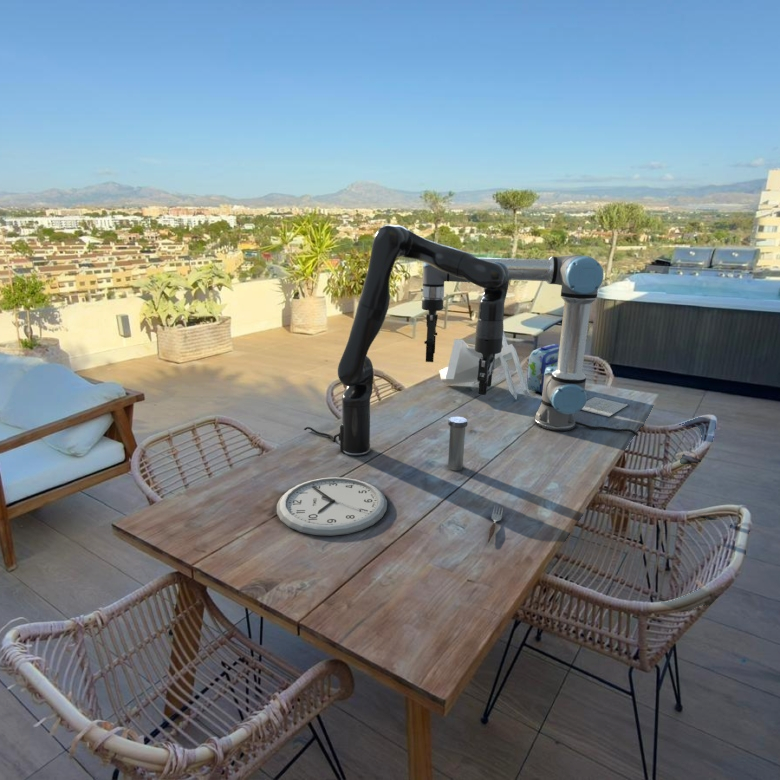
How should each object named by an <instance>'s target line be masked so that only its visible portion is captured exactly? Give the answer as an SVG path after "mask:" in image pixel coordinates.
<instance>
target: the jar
mask: <svg viewBox="0 0 780 780" xmlns="http://www.w3.org/2000/svg"><path fill="white" fill-rule="evenodd" d="M465 436H466V427H464V428H454V427H451V426H449V440H448V441H449V442H448V458H447V459H448V460H447V468H448V469H449V470H450V471H454V472H459V471H462V470H463V468H464V467H463V466H464V455H465V454H464V453H465Z"/></svg>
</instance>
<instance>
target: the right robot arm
mask: <svg viewBox="0 0 780 780" xmlns="http://www.w3.org/2000/svg"><path fill="white" fill-rule="evenodd" d="M477 258H478V259H481V260H484V261H488V262H502V263H504V264H505V265H506V266H507V267H508V270H509V281H526V282H527V281H531V282H546V283H547V284H548V285H557V286H561V289H560V298H561V299H562V300H563V303H564V305H563V313H562V322H561V330H560V339H559V345H560V346H559V355H558V364H557V366H553V367H547V368H546V369H545V373H544V382H543V392H542V393H541V402H540V405H539V407H538V410H537V411H536V413H535V416H534V424H535V425H536V426H537V427H539V428H542V429H544V430H549V431H556V432H567V431H572V430H574V429H575V428H576V425H577V426H581V427H584V428H586V429H591V430H606V431H612V432H619V433H620V432H625V433H631V434H633V435H634V436H637V437H639V433H638V432H637V431H635V430H633V429H630V428H614V427H609V426H592V425H589V424H586V423H583V422H579V421H576V418H575V417H576V416H575V414H576V413H579V412H580V411H582V410H581V409H582V408H583V407H584V406H585V404H586V401H588V397H587V392H586V389H585V388H586V383H587V382H586V381H587V375H586V374H585V373H584V371H583V369H584V361H585V355H586V347H587V339H588V338H587V337H588V330H589V324H590V318H591V317H590V316H591V308H592V303H593V302H594V301H596V300H597V298H598V294H599V293H598V291H599V288H601V285H602V284H603V281H604V269H603V267H602V265H601V264H600V262H599V261H597V260H596V259H595V258H594V257H592V256H587V255H581V254H574V255H573V254H572V255H565V256H551V257H549V258H548V259H545V258H544V259H543V258H542V259H541V258H540V259H539V258H501V257H500V258H497V257H496V258H495V257H494V258H492V257H477ZM422 262H423V261H422ZM422 264H423V265H422V288H420V292H421V293H422V294H421V296H422V299H421V309H422V310H423V311H428V313H426V316H425V320H426V340H424V342H423V343H424V344H425V362H426V363H434V359H435V357H434V356H435V353H436V338H437V337H436V336H438V332H437V329H436V328H437V324H438V318H439V315H438V314H437V311H438V312H439V311H442V310H444V299H443V298H444V297H445V282H447V283H449V282H452V283H453V282H457V283H468V284H470V283H471V282H469V281H468V280H466V279H463V278H459V277H456V276H453V275H450V274H448V273H445V272H443V271H440V270H438V269H436V268H435V267H433V266H431V265H429V264H427V263H425V262H423V263H422Z"/></svg>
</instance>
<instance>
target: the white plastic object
mask: <svg viewBox="0 0 780 780" xmlns="http://www.w3.org/2000/svg"><path fill="white" fill-rule="evenodd" d="M481 356H482V353H478V352H476V351H475V345H473V346H469V345H468V343H466V342H465V340H464V339H463V338H460V339H458V338H454V340H453V344H452V349H451V353H450V357H449V362H448V366H446V367H444V368H442V369H440V370H439V371H438V372H439V376H440V381H442V383H443V384H444V385H445V386H449V385H458V384H467V383H468V384H469V383H473V384H477V383H479V381H478V380H477V378H478V368H479V359H480V358H481ZM510 360H513V363H514V366H515V369H516V372H517V376H518V380H519V382H520V385H521V389H522V391H523V393H524V395H525V396H526V397H528V396H531V395H530V390H529V389H528V387H527V380H526V378H525V375H524V371H523V369H522V368H523V367H522V366H521V362H520V359H519V355H518V352H517V349H516V347H515V346H514V345H513V343H511V344H508V341H507V337H506V334H505V331H504V330H503V340H502V351H501V352H500V353H498V354H495V363H494V364H495V366H494V370H496V369H497V368H499V367H500V366H502V370H503V373H504V376H505V380H506V383H507V386H508V390H509V393H510V394H511V395H512V397H513V398H514V399H515V400H517V392H516V391H517V390H516V388H515V385H514V381H513V378H512V375H511V371H510V369H509V365H508V361H510ZM481 377H484V375H482V376H481Z"/></svg>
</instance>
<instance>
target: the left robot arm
mask: <svg viewBox="0 0 780 780" xmlns="http://www.w3.org/2000/svg"><path fill="white" fill-rule="evenodd" d="M400 258H406V259H412V260H417V261H420V262H425V263H427V264H429V265H431V266H433V267H435V268H436V269H438V270H440V271H443V272H445V273H448V274H450V275H453V276H456V277H459V278H463V279H466V280H468V281H469V282H470V283H472V284H474V285H475V286H477V287H479V288H483V292H482V297H481V298H480V300H479V303H478V311H477V322H476V325H475V326H476V327H475V339H474V346H475V351H476V352H478V353H482V356H481V358H480V359H479V368H478V378H477V380H478V381H479V382H478V390H477V391H478V395H480V396H481V395H482V396H486V395H487V391H488V387H491V386H492V381H493V375H494V371H495V369H494V366H495V364H494V363H495V354H498V353H500V352H501V351H502V348H503V345H502V340H503V331H504V318H505V316H504V315H505V304H506V303H505V302H506V299H507V295H508V289H509V285H510V280H509V270H508V267H507V266H506V265H505V264H504V263H502V262H488V261H484V260H481V259H478V258H479V257H477V256H475V255H474V254H472V253H470V252H466V251H464V250H460V249H459V248H458V249H457V248H454V247H450V246H447V245H444V244H440V243H437V242H434V241H431V240H429V239H427V238H424V237H422V236H420V235H418V234H416V233H414V232H413V231H411V230H409V229H407V228H406V227H404V226H402V225H396V224H386V225H384V226H380V228H379V229H378V230H377V231H376V232H375V235H374V236H373V241H372V246H371V251H370V258H369V262H368V266H367V267H368V268H367V272H366V275H365V279H364V282H363V286H362V289H361V293H360V296H359V299H358V303H357V306H356V310H355V314H354V317H353V321H352V325H351V330H350V332H349V336H348V339H347V343H346V345H345V348H344V350H343V353H342V356H341V358H340V360H339V362H338V366H337V377H338V379H339V381H340V383H341V384H342V385H344V386H345V387H346V388H345V390H344V392H343V394H342V395H341V417H342V419H341V420H342V421H341V422H342V423H341V424H340V425H339V432H338V433H337V434H335V435H334V436H332V435H331V434H329V433H325V432H321V431H318V430H316V429H314V428H312V427H310V426H306V427H304V428H303V431H307V430H310V431H312V432H313V433H315V434H317V435H321V436H324V437H325V436H326V437H328V438H330V439H331V441H332V442H336V440H337V438H338V441H339V452H340V453H343V454H345V455H347V456H352V457H360V456H361V457H362V456H365V455H367V454H369V453H370V452H371V397H372V395H373V388H374V387H373V386H374V385H373V384H374V365H373V363H372V361H371V358H370V357H369V356H368V352H369V349H370V347H371V345H372V344H373V343H374V341H375V339H376V337H377V336H378V334H379V333H380V331H381V329H382V327H383V325H384V324H385V323H384V322H385V321H386V317H387V314H388V311H389V306H390V302H391V301H390V300H391V293H390V292H391V291H390V281H391V280H390V279H391V275H392V271H393V268H394V265H395V262H396V260H397V259H400ZM482 375H484V377H481V376H482Z"/></svg>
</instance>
